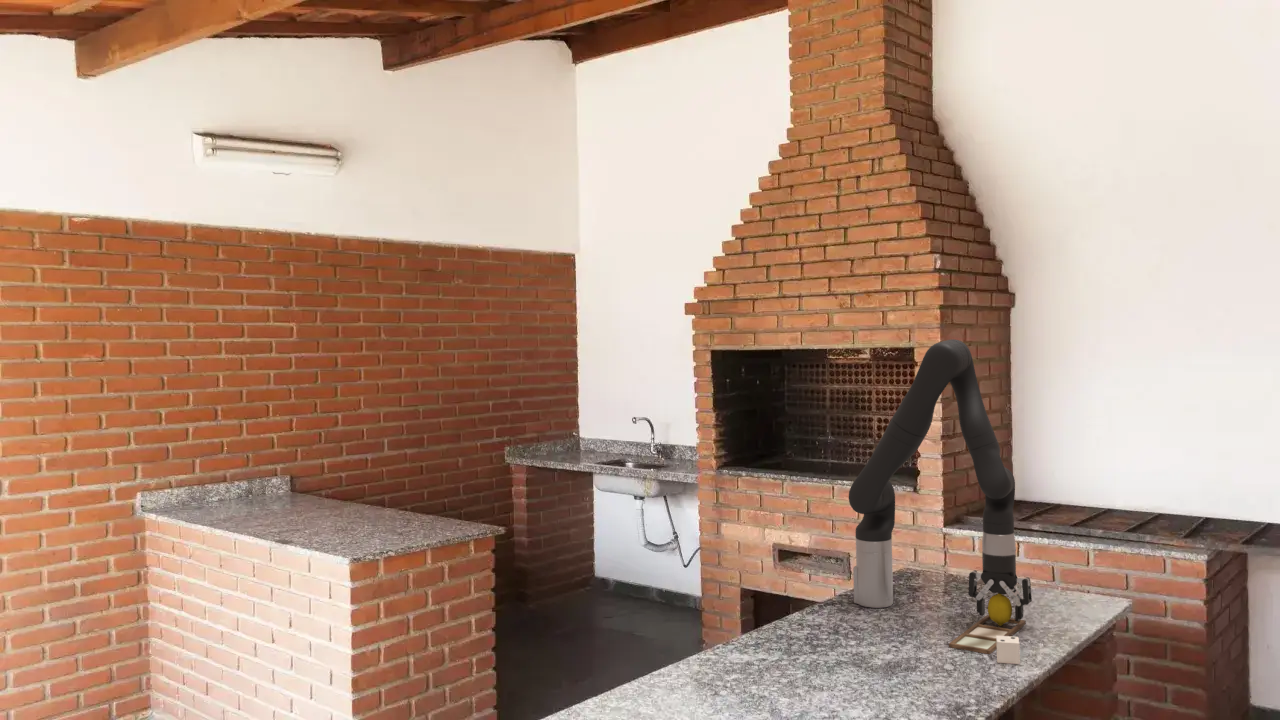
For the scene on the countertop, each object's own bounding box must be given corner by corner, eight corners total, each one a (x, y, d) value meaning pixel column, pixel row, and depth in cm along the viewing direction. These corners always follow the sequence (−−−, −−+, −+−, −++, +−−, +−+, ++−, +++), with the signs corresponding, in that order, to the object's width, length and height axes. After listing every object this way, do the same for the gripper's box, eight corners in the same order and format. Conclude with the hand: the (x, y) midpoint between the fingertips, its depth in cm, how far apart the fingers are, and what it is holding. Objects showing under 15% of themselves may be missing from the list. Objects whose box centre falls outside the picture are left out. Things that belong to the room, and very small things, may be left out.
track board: (948, 647, 224) (948, 643, 224) (987, 617, 244) (987, 614, 244) (989, 654, 218) (989, 650, 218) (1025, 623, 239) (1025, 620, 239)
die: (997, 662, 213) (997, 641, 213) (996, 655, 217) (996, 635, 217) (1019, 664, 211) (1019, 643, 211) (1018, 657, 216) (1018, 636, 216)
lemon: (1008, 622, 240) (1008, 589, 240) (1015, 629, 235) (1014, 596, 235) (985, 622, 241) (984, 589, 241) (991, 629, 235) (990, 596, 235)
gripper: (963, 550, 239) (965, 617, 239) (1024, 557, 230) (1025, 626, 230) (974, 544, 244) (975, 609, 245) (1034, 551, 236) (1035, 618, 236)
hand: (1000, 617), depth 238 cm, fingers open, 8 cm apart
